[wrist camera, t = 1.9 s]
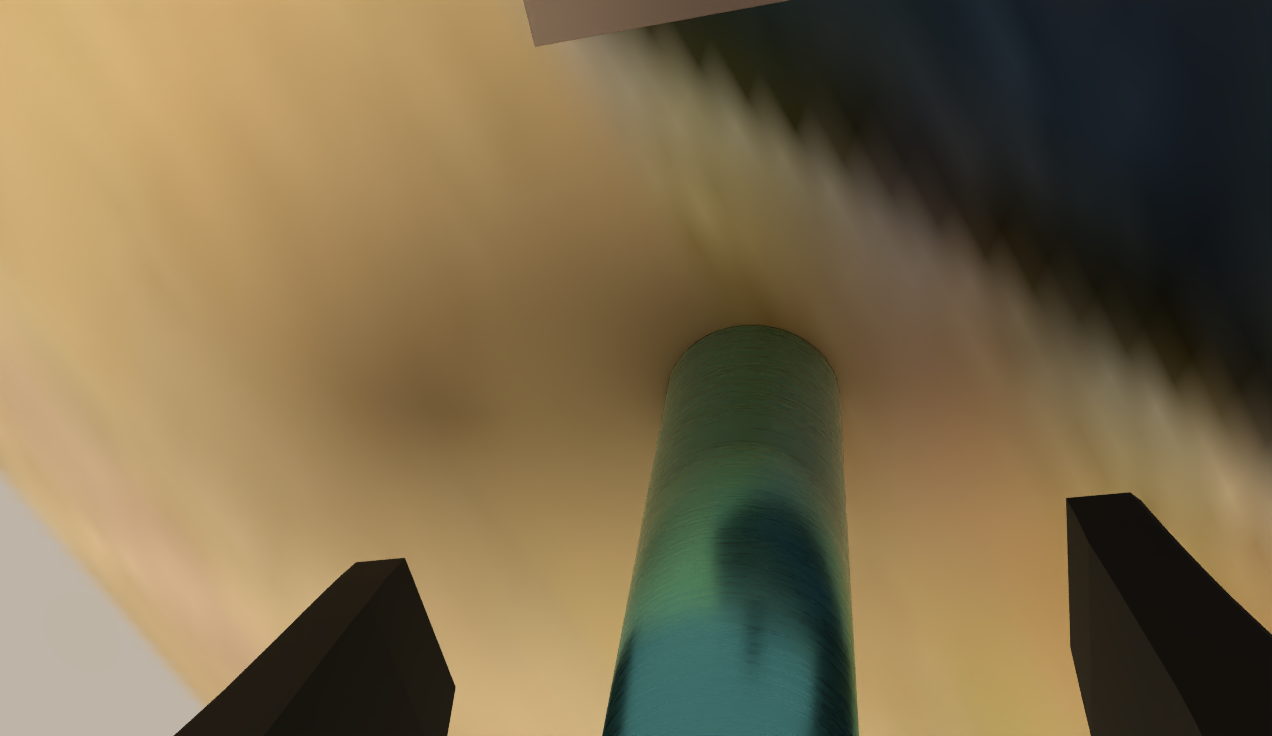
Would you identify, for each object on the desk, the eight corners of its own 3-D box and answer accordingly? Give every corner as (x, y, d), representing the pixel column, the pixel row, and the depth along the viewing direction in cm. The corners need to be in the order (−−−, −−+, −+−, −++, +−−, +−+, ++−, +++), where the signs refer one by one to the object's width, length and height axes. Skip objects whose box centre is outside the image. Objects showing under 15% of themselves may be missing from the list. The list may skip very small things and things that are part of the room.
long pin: (828, 314, 15) (852, 835, 8) (849, 462, 16) (885, 1025, 9) (651, 336, 16) (535, 844, 9) (684, 478, 17) (604, 1024, 10)
